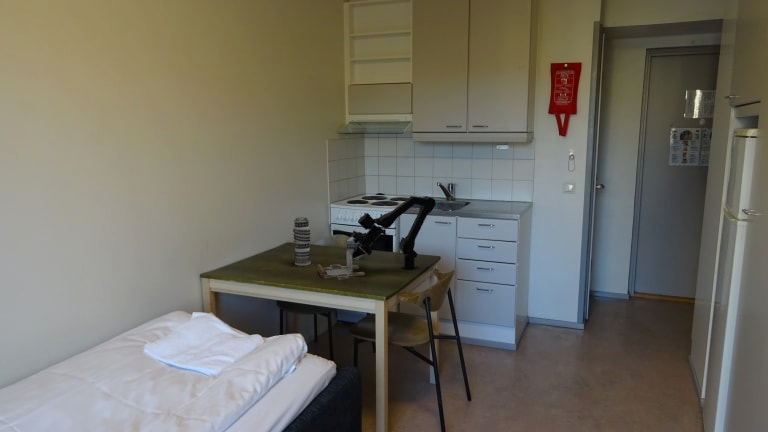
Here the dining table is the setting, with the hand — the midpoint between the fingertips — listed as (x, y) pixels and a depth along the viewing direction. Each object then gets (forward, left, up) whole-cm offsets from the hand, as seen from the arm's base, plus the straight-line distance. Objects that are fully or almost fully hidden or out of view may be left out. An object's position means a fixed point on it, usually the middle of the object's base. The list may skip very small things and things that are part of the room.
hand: (350, 258), depth 263 cm
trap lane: (+3, -4, -7) cm, 9 cm away
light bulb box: (-28, -12, -8) cm, 32 cm away
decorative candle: (-5, -32, -7) cm, 33 cm away
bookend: (+4, -5, -7) cm, 10 cm away
